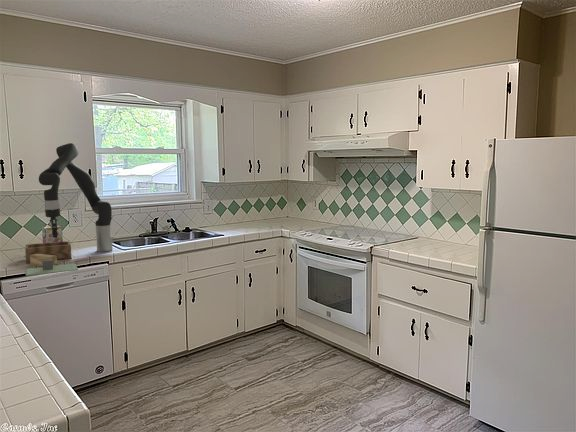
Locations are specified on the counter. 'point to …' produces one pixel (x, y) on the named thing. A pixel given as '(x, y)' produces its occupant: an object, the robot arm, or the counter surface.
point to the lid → (50, 268)
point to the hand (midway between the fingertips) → (55, 236)
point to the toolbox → (49, 250)
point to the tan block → (38, 258)
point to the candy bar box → (48, 235)
